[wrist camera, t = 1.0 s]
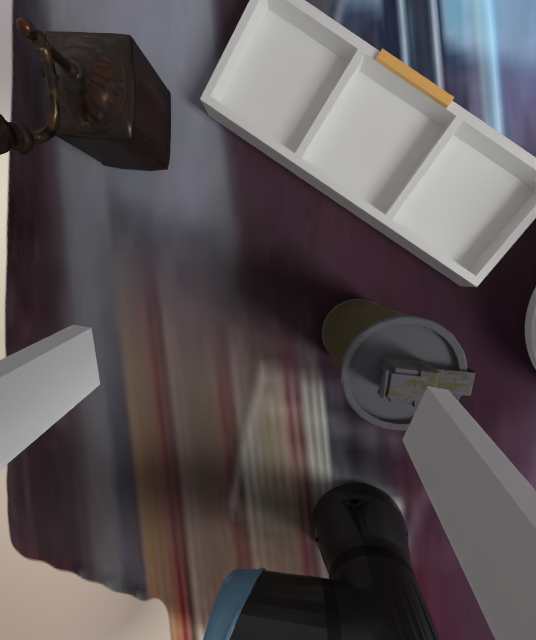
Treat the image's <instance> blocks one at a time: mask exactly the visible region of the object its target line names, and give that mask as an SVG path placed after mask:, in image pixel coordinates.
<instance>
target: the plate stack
mask: <svg viewBox="0 0 536 640" xmlns="http://www.w3.org/2000/svg"><path fill="white" fill-rule="evenodd" d="M525 341H526V346H527V350H528V354H529V357H530V359H531V362H532V364H533V366H534V368H535V369H536V287H535V289H534V291H533V293H532V296H531V298H530V301H529V305H528V308H527V313H526V319H525Z"/></svg>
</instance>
